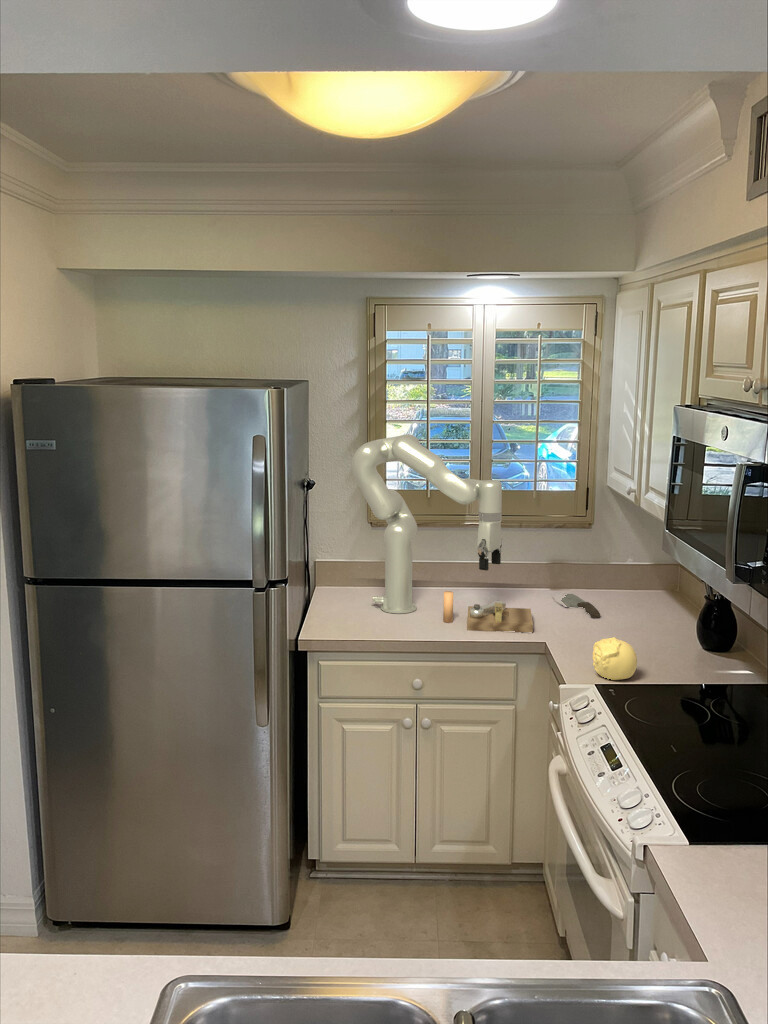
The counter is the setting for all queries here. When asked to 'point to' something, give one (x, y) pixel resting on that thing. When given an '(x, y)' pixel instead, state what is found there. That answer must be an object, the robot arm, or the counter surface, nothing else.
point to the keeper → (498, 612)
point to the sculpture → (614, 659)
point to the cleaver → (580, 605)
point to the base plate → (502, 621)
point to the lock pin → (448, 607)
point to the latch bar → (485, 609)
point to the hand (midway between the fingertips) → (489, 566)
